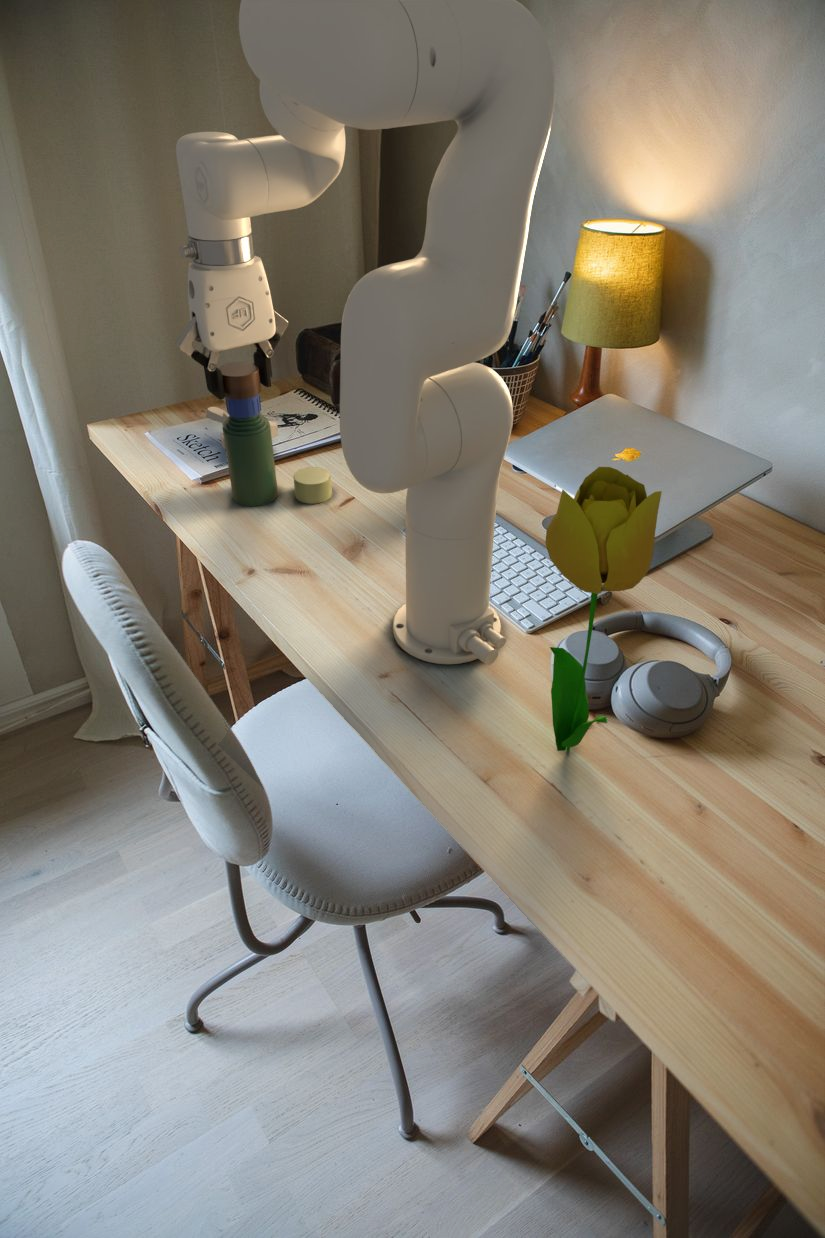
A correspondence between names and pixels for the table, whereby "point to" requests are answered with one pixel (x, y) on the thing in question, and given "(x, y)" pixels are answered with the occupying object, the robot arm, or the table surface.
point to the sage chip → (312, 485)
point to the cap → (243, 407)
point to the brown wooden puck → (241, 380)
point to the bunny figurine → (222, 415)
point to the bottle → (250, 460)
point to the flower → (596, 572)
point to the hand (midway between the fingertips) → (241, 388)
